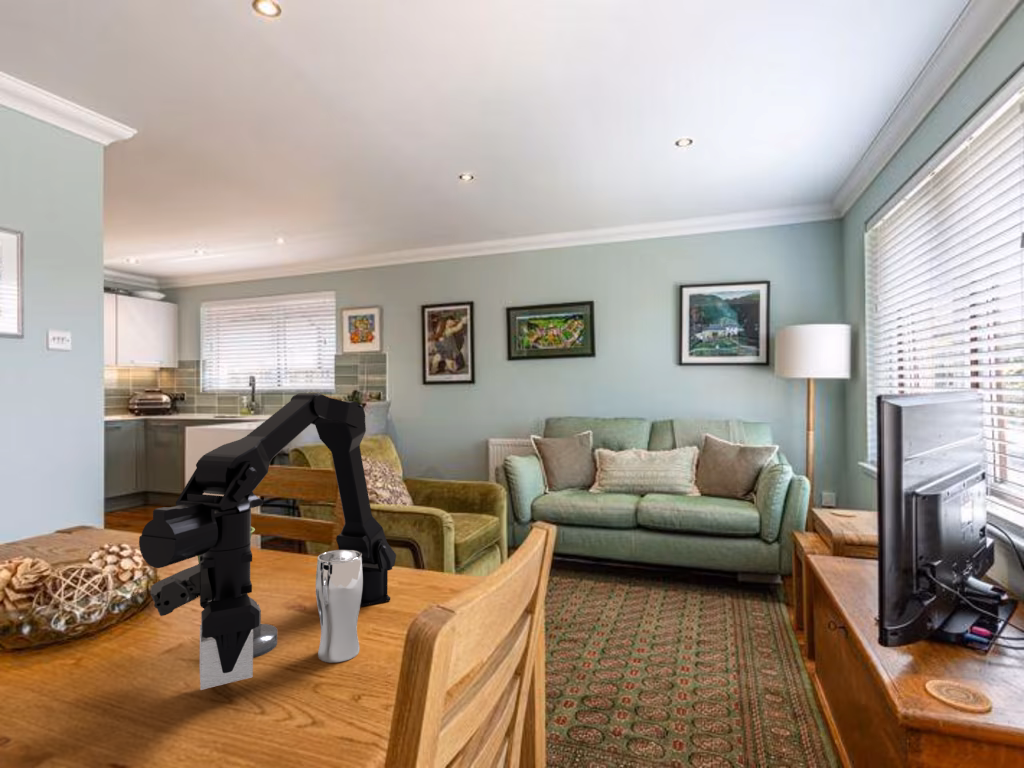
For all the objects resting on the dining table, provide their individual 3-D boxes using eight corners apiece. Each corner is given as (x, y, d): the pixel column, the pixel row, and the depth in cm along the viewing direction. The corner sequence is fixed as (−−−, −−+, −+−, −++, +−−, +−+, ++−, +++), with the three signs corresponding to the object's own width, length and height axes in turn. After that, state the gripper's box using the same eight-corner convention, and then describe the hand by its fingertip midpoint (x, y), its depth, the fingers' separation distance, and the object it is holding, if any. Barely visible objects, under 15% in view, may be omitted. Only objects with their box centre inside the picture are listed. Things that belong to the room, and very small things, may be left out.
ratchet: (280, 651, 83) (281, 612, 84) (222, 664, 79) (222, 624, 79) (265, 610, 99) (265, 577, 99) (216, 619, 95) (216, 585, 95)
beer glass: (371, 646, 85) (372, 551, 85) (343, 667, 78) (344, 564, 79) (334, 640, 87) (335, 547, 88) (304, 660, 81) (305, 559, 81)
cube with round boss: (248, 658, 77) (248, 605, 77) (252, 677, 71) (253, 620, 72) (199, 669, 73) (200, 613, 74) (200, 690, 68) (201, 630, 68)
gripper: (158, 537, 77) (157, 648, 76) (152, 575, 61) (150, 715, 60) (245, 527, 82) (244, 630, 82) (260, 559, 66) (259, 687, 66)
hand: (225, 661), depth 72 cm, fingers closed on cube with round boss, 6 cm apart
